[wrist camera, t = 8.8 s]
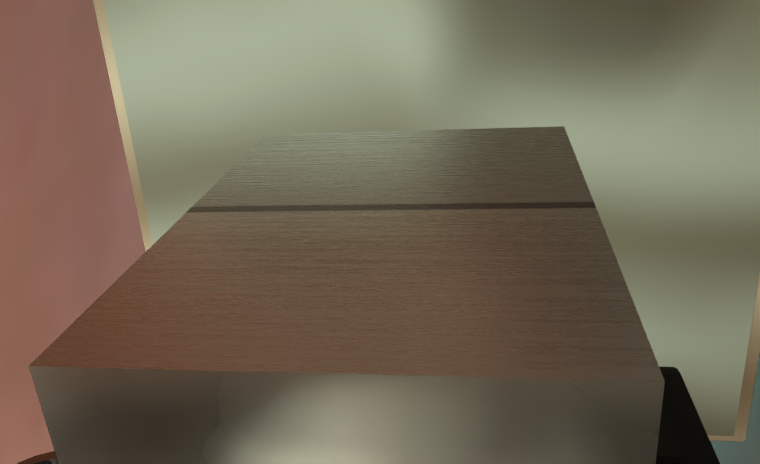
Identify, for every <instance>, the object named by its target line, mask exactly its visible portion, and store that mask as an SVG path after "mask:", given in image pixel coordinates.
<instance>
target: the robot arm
mask: <svg viewBox="0 0 760 464" xmlns="http://www.w3.org/2000/svg"><path fill="white" fill-rule="evenodd" d="M659 368H660V370H661V373H662V375H663V378H664V380H665V384H664V393H663V402H662V411H661V420H660V429H659V437H658V446H657V455H656V464H720V463H719V461H718V458H717V456H716V454H715V451H714V449H713V447H712V444H711V442H710V440H709V438H708V435H707V433H706V431H705V428H704V426H703V424H702V421H701V419H700V417H699V415H698V412H697V410H696V408H695V405H694V403H693V401H692V399H691V396H690V394H689V392H688V389H687V387H686V385H685V382H684V380H683V378H682V376H681V374H680V372H679V370H678V369H677V368H675V367H659ZM17 464H59V463H58V460H57V457H56V454H55V451H53V452H49V453H45V454H40V455H36V456H34V457H31V458H29V459H27V460H24V461H22V462H19V463H17Z"/></svg>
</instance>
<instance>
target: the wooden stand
mask: <svg viewBox="0 0 760 464" xmlns="http://www.w3.org/2000/svg"><path fill="white" fill-rule="evenodd" d="M93 2H94V7H95V11H96V16H97V21H98V26H99V31H100V35H101V40H102V45H103V50H104V54H105V59H106V64H107V69H108V74H109V78H110V83H111V88H112V93H113V97H114V102H115V107H116V112H117V117H118V121H119V126H120V131H121V136H122V141H123V145H124V150H125V155H126V160H127V164H128V169H129V174H130V179H131V184H132V188H133V193H134V198H135V203H136V208H137V212H138V217H139V222H140V227H141V231H142V236H143V241H144V246H145V251H147V250H148V249H149V248H150V247H151V246H152V245H153V244H154V243H155V242H156V241H157V240H158V239H159V238H160V237H161V236H162V235H164V234H165V233H166V232H167V231H168V230H169V229H170V228H171V227H172V226H173V225H174V224H175V223H176V222H177V221H178V220H179V219H180V218H181V217H182V216H183V215H184V214H185V213H186V212H187V211H188V210H189V209H190V208H191V207H192V206H193V205H194V204H195V203H196V202H197V201H198V200H199V199H200V198H201V197H202V196H203V195H204V194H205V193H207V192H208V191H209V190H210V189H211V188H212V187H213V186H214V185H215V184H216V183H217V182H218V181H219V180H220V179H221V178H222V177H223V176H224V175H225V174H226V173H227V172H228V171H229V170H230V169H231V168H232V167H233V166H234V165H235V164H236V163H237V162H238V161H239V160H240V159H241V158H242V157H243V156H244V155H245V154H246V153H247V152H249V151H250V150H251V149H252V148H253V147H254V146H255V145H256V144H257V143H258V142H259V141H260V140H261V139H262V138H263V137H264V136H265V135H269V134H305V133H341V132H377V131H413V130H449V129H486V128H522V127H558V126H564V127H565V130H566V132H567V135H568V137H569V140H570V143H571V145H572V148H573V150H574V153H575V155H576V158H577V160H578V163H579V165H580V168H581V170H582V173H583V175H584V178H585V181H586V183H587V186H588V188H589V191H590V193H591V196H592V198H593V201H594V203H595V206H596V208H597V211H598V213H599V216H600V218H601V221H602V224H603V226H604V229H605V231H606V234H607V236H608V239H609V241H610V244H611V246H612V249H613V251H614V254H615V256H616V259H617V261H618V264H619V267H620V269H621V272H622V274H623V277H624V279H625V282H626V284H627V287H628V289H629V292H630V294H631V297H632V299H633V302H634V304H635V307H636V310H637V312H638V315H639V317H640V320H641V322H642V325H643V327H644V330H645V332H646V335H647V337H648V340H649V342H650V345H651V348H652V350H653V353H654V355H655V358H656V360H657V363H658V365H659V367H675V368H677V369H678V370H679V372H680V374H681V376H682V378H683V380H684V382H685V385H686V387H687V389H688V392H689V394H690V396H691V399H692V401H693V403H694V405H695V408H696V410H697V412H698V415H699V417H700V419H701V421H702V424H703V426H704V428H705V431H706V433H707V435H708V438H709V440H714V441H743V442H745V438H746V432H747V426H748V420H749V414H750V408H751V402H752V396H753V390H754V384H755V378H756V372H757V366H758V360H759V354H760V0H93Z"/></svg>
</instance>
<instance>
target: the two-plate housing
mask: <svg viewBox="0 0 760 464" xmlns="http://www.w3.org/2000/svg"><path fill="white" fill-rule="evenodd" d="M29 369H30V372H31V376H32V379H33V382H34V385H35V389H36V392H37V395H38V398H39V402H40V405H41V408H42V411H43V415H44V418H45V421H46V424H47V428H48V431H49V434H50V437H51V441H52V444H53V447H54V450H55V454H56V457H57V460H58V463H59V464H656V455H657V446H658V437H659V429H660V420H661V411H662V402H663V393H664V384H665V380H664V378H663V375H662V373H661V370H660V368H659V365H658V363H657V360H656V358H655V355H654V353H653V350H652V348H651V345H650V342H649V340H648V337H647V335H646V332H645V330H644V327H643V325H642V322H641V320H640V317H639V315H638V312H637V310H636V307H635V304H634V302H633V299H632V297H631V294H630V292H629V289H628V287H627V284H626V282H625V279H624V277H623V274H622V272H621V269H620V267H619V264H618V261H617V259H616V256H615V254H614V251H613V249H612V246H611V244H610V241H609V239H608V236H607V234H606V231H605V229H604V226H603V224H602V221H601V218H600V216H599V213H598V211H597V208H596V206H595V203H594V201H593V198H592V196H591V193H590V191H589V188H588V186H587V183H586V181H585V178H584V175H583V173H582V170H581V168H580V165H579V163H578V160H577V158H576V155H575V153H574V150H573V148H572V145H571V143H570V140H569V137H568V135H567V132H566V130H565V127H564V126H558V127H522V128H486V129H449V130H413V131H377V132H341V133H305V134H269V135H265V136H264V137H263V138H262V139H261V140H260V141H259V142H258V143H257V144H256V145H255V146H254V147H253V148H252V149H251V150H250V151H249V152H247V153H246V154H245V155H244V156H243V157H242V158H241V159H240V160H239V161H238V162H237V163H236V164H235V165H234V166H233V167H232V168H231V169H230V170H229V171H228V172H227V173H226V174H225V175H224V176H223V177H222V178H221V179H220V180H219V181H218V182H217V183H216V184H215V185H214V186H213V187H212V188H211V189H210V190H209V191H208V192H207V193H205V194H204V195H203V196H202V197H201V198H200V199H199V200H198V201H197V202H196V203H195V204H194V205H193V206H192V207H191V208H190V209H189V210H188V211H187V212H186V213H185V214H184V215H183V216H182V217H181V218H180V219H179V220H178V221H177V222H176V223H175V224H174V225H173V226H172V227H171V228H170V229H169V230H168V231H167V232H166V233H165V234H164V235H162V236H161V237H160V238H159V239H158V240H157V241H156V242H155V243H154V244H153V245H152V246H151V247H150V248H149V249H148V250H147V251H146V252H145V253H144V254H143V255H142V256H141V257H140V258H139V259H138V260H137V261H136V262H135V263H134V264H133V265H132V266H131V267H130V268H129V269H128V270H127V271H126V272H125V273H124V274H123V275H122V276H120V277H119V278H118V279H117V280H116V281H115V282H114V283H113V284H112V285H111V286H110V287H109V288H108V289H107V290H106V291H105V292H104V293H103V294H102V295H101V296H100V297H99V298H98V299H97V300H96V301H95V302H94V303H93V304H92V305H91V306H90V307H89V308H88V309H87V310H86V311H85V312H84V313H83V314H82V315H81V316H80V317H78V318H77V319H76V320H75V321H74V322H73V323H72V324H71V325H70V326H69V327H68V328H67V329H66V330H65V331H64V332H63V333H62V334H61V335H60V336H59V337H58V338H57V339H56V340H55V341H54V342H53V343H52V344H51V345H50V346H49V347H48V348H47V349H46V350H45V351H44V352H43V353H42V354H41V355H40V356H39V357H38V358H37V359H35V360H34V361H33V362H32V363H31V364H30V365H29Z"/></svg>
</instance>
